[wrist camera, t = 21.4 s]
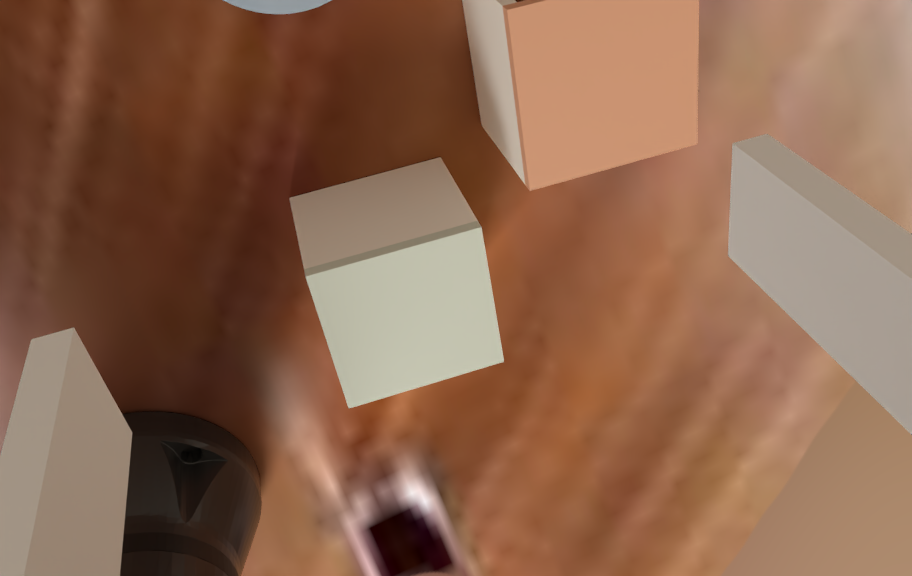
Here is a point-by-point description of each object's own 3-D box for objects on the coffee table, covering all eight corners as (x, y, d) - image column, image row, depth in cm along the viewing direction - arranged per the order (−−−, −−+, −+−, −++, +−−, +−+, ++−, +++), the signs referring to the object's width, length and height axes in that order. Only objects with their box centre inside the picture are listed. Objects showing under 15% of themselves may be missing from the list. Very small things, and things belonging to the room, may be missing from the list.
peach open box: (481, 125, 49) (529, 190, 42) (456, -35, 43) (507, 10, 36) (626, 86, 50) (697, 144, 43) (619, -74, 45) (699, -39, 38)
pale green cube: (328, 320, 54) (348, 408, 47) (289, 197, 48) (305, 276, 41) (464, 281, 55) (504, 361, 48) (440, 157, 49) (481, 226, 42)
